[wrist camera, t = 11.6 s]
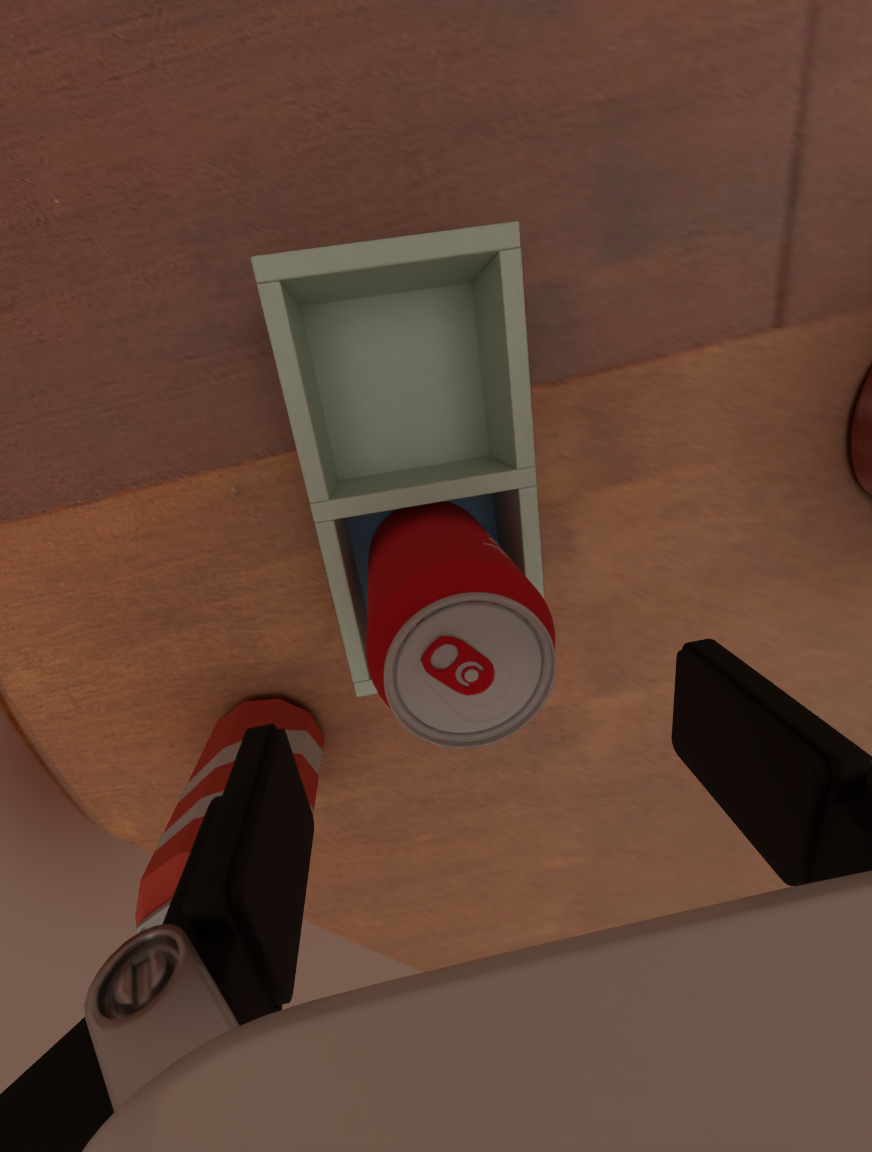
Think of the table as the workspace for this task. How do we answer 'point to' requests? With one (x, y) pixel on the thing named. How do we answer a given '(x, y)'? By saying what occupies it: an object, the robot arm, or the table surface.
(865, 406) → the flower pot
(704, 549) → the table surface
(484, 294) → the grey divided storage box
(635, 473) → the table surface
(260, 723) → the beverage can
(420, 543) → the beverage can
